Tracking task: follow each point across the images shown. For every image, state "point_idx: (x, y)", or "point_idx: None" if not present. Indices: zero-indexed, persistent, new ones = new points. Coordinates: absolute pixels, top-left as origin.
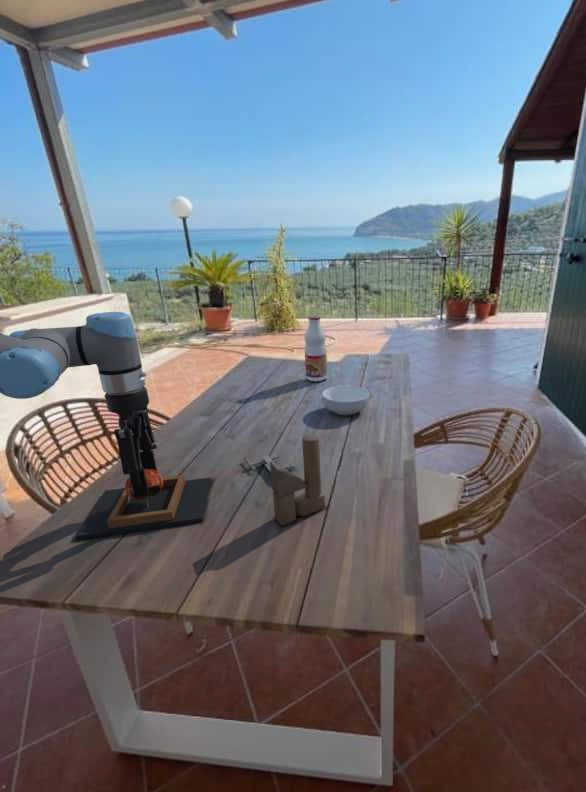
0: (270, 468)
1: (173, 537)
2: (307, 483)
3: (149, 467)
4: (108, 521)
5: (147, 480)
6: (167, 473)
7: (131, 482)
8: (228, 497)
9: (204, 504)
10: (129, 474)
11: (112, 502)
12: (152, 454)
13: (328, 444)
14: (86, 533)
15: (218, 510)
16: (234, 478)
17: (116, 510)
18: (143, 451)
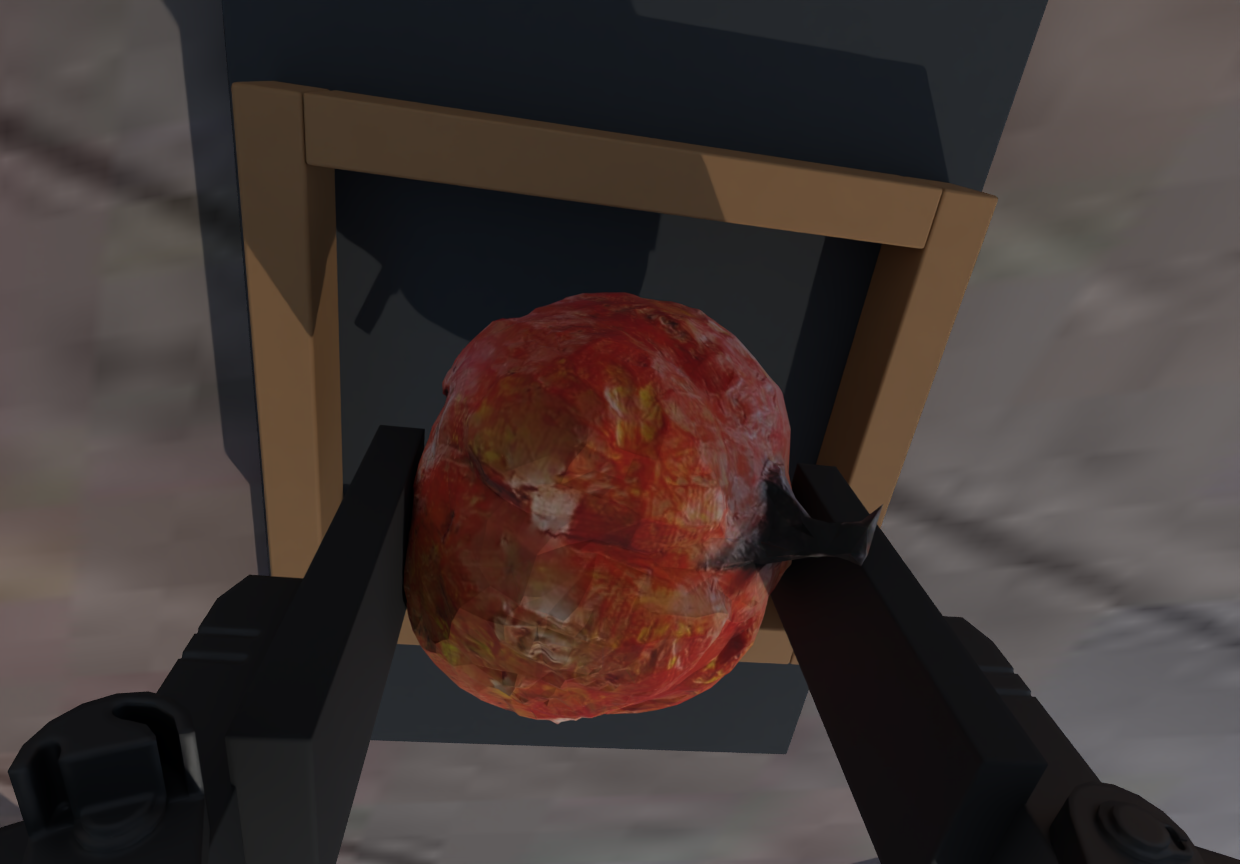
0: None
1: (146, 574)
2: None
3: (821, 621)
4: (233, 98)
5: (440, 665)
6: (1079, 450)
7: (318, 556)
8: (525, 817)
9: (445, 741)
10: (257, 673)
11: (768, 23)
12: (882, 861)
13: None
14: None
15: (398, 779)
16: (734, 836)
17: (426, 155)
18: (1018, 808)
